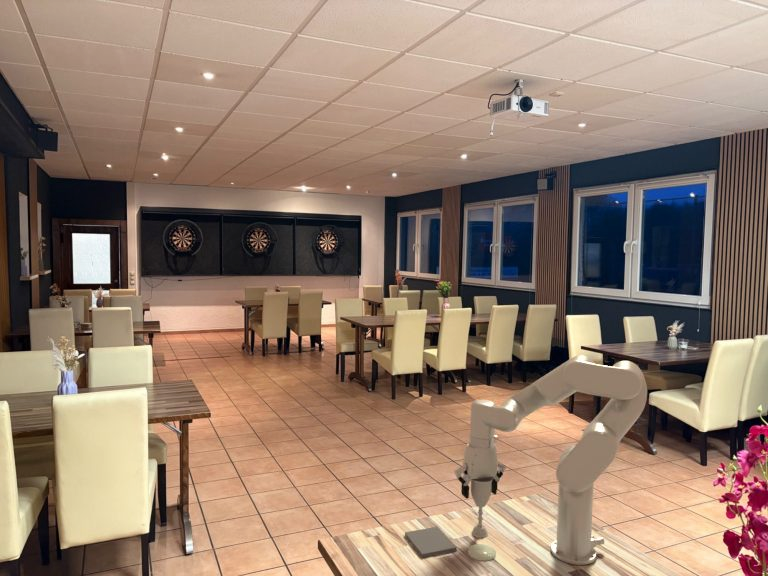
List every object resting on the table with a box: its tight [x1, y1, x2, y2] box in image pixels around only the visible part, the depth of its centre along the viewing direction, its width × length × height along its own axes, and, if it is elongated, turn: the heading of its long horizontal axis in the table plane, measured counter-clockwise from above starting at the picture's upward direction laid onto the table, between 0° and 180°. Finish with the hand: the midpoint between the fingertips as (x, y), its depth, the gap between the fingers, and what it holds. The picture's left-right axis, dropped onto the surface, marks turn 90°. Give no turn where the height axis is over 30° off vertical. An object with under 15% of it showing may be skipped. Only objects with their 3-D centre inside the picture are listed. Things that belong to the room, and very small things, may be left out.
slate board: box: [404, 526, 457, 558], centre depth 170 cm, size 11×13×1 cm
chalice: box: [470, 477, 493, 539], centre depth 176 cm, size 7×7×18 cm
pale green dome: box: [467, 544, 497, 562], centre depth 165 cm, size 8×8×1 cm
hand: (479, 494), depth 176 cm, fingers open, 9 cm apart
